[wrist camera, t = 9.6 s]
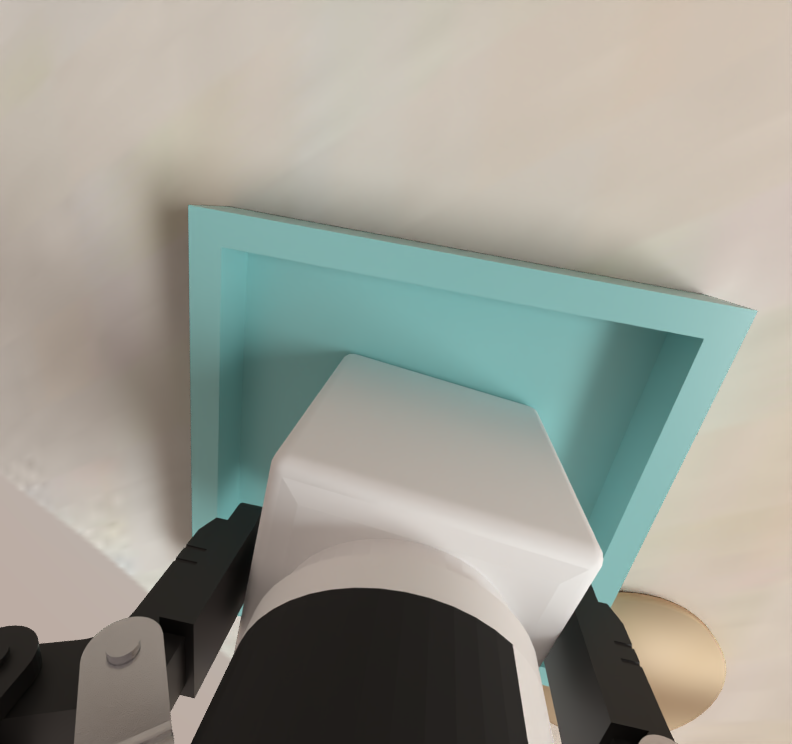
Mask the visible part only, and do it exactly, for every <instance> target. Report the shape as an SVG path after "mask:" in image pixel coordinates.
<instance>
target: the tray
mask: <svg viewBox="0 0 792 744" xmlns="http://www.w3.org/2000/svg"><path fill="white" fill-rule="evenodd" d="M188 231H189V314H190V396H191V479H192V537H193V536H194V535H195V533H196V532H197V531H198V529H200V528H201V527H203V526H204V525H206V524H207V523H209V522H210V521H212V520H213V519H215V518H216V517H217V518H221V519H226V520H228V519H229V517H230V516H231V515H232V513H233V512H234V510H235V509H236V508H237V506H238V505H239V504H240V503H242V502H243V503H247V504H252V505H257V506H261V507H263V502H264V497H265V492H266V487H267V482H268V476H269V471H270V466H271V461H272V459H273V457H274V456H275V454H276V452H277V451H278V450H279V448H280V447H281V445H282V444H283V443H284V441H285V440H286V438H287V437H288V435H289V434H290V433H291V431H292V430H293V428H294V427H295V426H296V424H297V423H298V421H299V420H300V419H301V417H302V416H303V414H304V413H305V412H306V410H307V409H308V407H309V406H310V404H311V403H312V402H313V400H314V399H315V397H316V396H317V395H318V393H319V392H320V390H321V389H322V388H323V386H324V385H325V383H326V382H327V381H328V379H329V378H330V376H331V375H332V374H333V372H334V371H335V369H336V368H337V366H338V365H339V364H340V362H341V361H342V359H343V358H344V357H345V356H347V355H348V354H357V355H361V356H364V357H367V358H370V359H374V360H377V361H380V362H384V363H387V364H390V365H394V366H397V367H400V368H404V369H407V370H410V371H414V372H417V373H420V374H424V375H427V376H430V377H434V378H437V379H440V380H444V381H447V382H450V383H454V384H457V385H460V386H464V387H467V388H470V389H474V390H477V391H480V392H484V393H487V394H490V395H493V396H497V397H500V398H503V399H507V400H510V401H513V402H517V403H520V404H523V405H527V406H530V407H532V408H533V409H535V410H536V411H537V413H538V415H539V417H540V419H541V421H542V423H543V426H544V428H545V430H546V432H547V434H548V436H549V439H550V441H551V443H552V445H553V447H554V449H555V451H556V454H557V456H558V458H559V460H560V462H561V464H562V466H563V469H564V471H565V473H566V475H567V477H568V479H569V482H570V484H571V486H572V488H573V490H574V492H575V494H576V497H577V499H578V501H579V503H580V505H581V507H582V509H583V512H584V514H585V516H586V518H587V520H588V522H589V525H590V527H591V529H592V531H593V533H594V535H595V537H596V540H597V542H598V544H599V546H600V548H601V550H602V552H603V563H602V567H601V569H600V570H599V572H598V573H597V575H596V577H595V578H594V580H593V581H592V583H591V585H592V587H593V590H594V592H595V595H596V597H597V600H598V602H602V603H606V604H608V605H609V607H610V608H611V606H612V604H613V602H614V600H615V598H616V596H617V594H618V592H619V590H620V588H621V586H622V584H623V582H624V580H625V578H626V576H627V574H628V572H629V570H630V568H631V566H632V564H633V562H634V560H635V558H636V556H637V554H638V552H639V550H640V548H641V546H642V544H643V542H644V540H645V538H646V536H647V534H648V532H649V530H650V528H651V525H652V523H653V521H654V519H655V517H656V515H657V513H658V511H659V509H660V507H661V505H662V503H663V501H664V499H665V497H666V495H667V493H668V491H669V489H670V487H671V485H672V483H673V481H674V479H675V477H676V475H677V473H678V471H679V469H680V467H681V465H682V463H683V461H684V459H685V457H686V455H687V453H688V451H689V449H690V447H691V445H692V443H693V441H694V439H695V437H696V435H697V433H698V431H699V429H700V427H701V425H702V423H703V421H704V418H705V416H706V414H707V412H708V410H709V408H710V406H711V404H712V402H713V400H714V398H715V396H716V394H717V392H718V390H719V388H720V386H721V384H722V382H723V380H724V378H725V376H726V374H727V372H728V370H729V368H730V366H731V364H732V362H733V360H734V358H735V356H736V354H737V352H738V350H739V348H740V346H741V344H742V342H743V340H744V338H745V336H746V334H747V332H748V330H749V328H750V326H751V324H752V322H753V320H754V318H755V316H756V314H757V310H753V309H750V308H747V307H744V306H740V305H737V304H734V303H731V302H727V301H724V300H721V299H718V298H714V297H711V296H708V295H704V294H698V293H693V292H687V291H682V290H677V289H671V288H666V287H661V286H655V285H650V284H644V283H639V282H634V281H628V280H623V279H617V278H612V277H607V276H601V275H596V274H590V273H585V272H580V271H574V270H569V269H563V268H558V267H553V266H547V265H542V264H537V263H531V262H526V261H520V260H515V259H510V258H504V257H499V256H493V255H488V254H483V253H477V252H472V251H466V250H461V249H456V248H450V247H445V246H439V245H434V244H429V243H423V242H418V241H413V240H407V239H402V238H396V237H391V236H386V235H380V234H375V233H369V232H364V231H359V230H353V229H348V228H342V227H337V226H332V225H326V224H321V223H315V222H310V221H305V220H299V219H294V218H289V217H283V216H278V215H272V214H267V213H262V212H256V211H251V210H245V209H240V208H235V207H229V206H205V205H188ZM243 605H244V604H243ZM242 610H243V606H242V608H241V609H240V611H239V613H238V615H237V616H241V615H242ZM539 672H540V677H541V682H542V685H545V686H549V683H548V678H547V674H546V669H545V664H544V661H543V663H542V664H541V666H540V667H539Z"/></svg>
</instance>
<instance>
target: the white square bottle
mask: <svg viewBox="0 0 792 744" xmlns="http://www.w3.org/2000/svg"><path fill="white" fill-rule="evenodd" d="M602 563H603V552H602V550H601V548H600V546H599V544H598V542H597V540H596V537H595V535H594V533H593V531H592V529H591V527H590V525H589V522H588V520H587V518H586V516H585V514H584V512H583V509H582V507H581V505H580V503H579V501H578V499H577V497H576V494H575V492H574V490H573V488H572V486H571V484H570V482H569V479H568V477H567V475H566V473H565V471H564V469H563V466H562V464H561V462H560V460H559V458H558V456H557V454H556V451H555V449H554V447H553V445H552V443H551V441H550V439H549V436H548V434H547V432H546V430H545V428H544V426H543V423H542V421H541V419H540V417H539V415H538V413H537V411H536V410H535V409H533V408H532V407H530V406H527V405H523V404H520V403H517V402H513V401H510V400H507V399H503V398H500V397H497V396H493V395H490V394H487V393H484V392H480V391H477V390H474V389H470V388H467V387H464V386H460V385H457V384H454V383H450V382H447V381H444V380H440V379H437V378H434V377H430V376H427V375H424V374H420V373H417V372H414V371H410V370H407V369H404V368H400V367H397V366H394V365H390V364H387V363H384V362H380V361H377V360H374V359H370V358H367V357H364V356H361V355H357V354H348V355H347V356H345V357H344V358H343V359H342V361H341V362H340V364H339V365H338V366H337V368H336V369H335V371H334V372H333V374H332V375H331V376H330V378H329V379H328V381H327V382H326V383H325V385H324V386H323V388H322V389H321V390H320V392H319V393H318V395H317V396H316V397H315V399H314V400H313V402H312V403H311V404H310V406H309V407H308V409H307V410H306V412H305V413H304V414H303V416H302V417H301V419H300V420H299V421H298V423H297V424H296V426H295V427H294V428H293V430H292V431H291V433H290V434H289V435H288V437H287V438H286V440H285V441H284V443H283V444H282V445H281V447H280V448H279V450H278V451H277V452H276V454H275V456H274V457H273V459H272V461H271V466H270V471H269V476H268V482H267V487H266V492H265V497H264V502H263V507H262V512H261V518H260V523H259V528H258V533H257V538H256V543H255V548H254V554H253V559H252V564H251V569H250V574H249V579H248V585H247V590H246V595H245V600H244V605H243V610H242V615H241V621H240V626H239V631H238V636H237V641H236V646H235V651H234V655H233V657H232V659H231V661H230V663H229V666H228V668H227V670H226V672H225V674H224V676H223V678H222V680H221V682H220V685H219V686H218V689H217V691H216V693H215V695H214V697H213V699H212V701H211V703H210V705H209V707H208V709H207V711H206V713H205V715H204V718H203V720H202V722H201V724H200V726H199V728H198V730H197V732H196V734H195V736H194V738H193V740H192V743H191V744H554V740H553V735H552V730H551V725H550V720H549V716H548V711H547V706H546V701H545V696H544V691H543V686H542V682H541V677H540V672H539V667H540V666H541V664H542V663H543V661H544V659H545V658H546V656H547V654H548V653H549V651H550V650H551V648H552V646H553V645H554V643H555V641H556V640H557V638H558V637H559V635H560V633H561V632H562V630H563V628H564V627H565V625H566V624H567V622H568V620H569V619H570V617H571V616H572V614H573V612H574V611H575V609H576V607H577V606H578V604H579V603H580V601H581V599H582V598H583V596H584V594H585V593H586V591H587V590H588V588H589V586H590V585H591V583H592V581H593V580H594V578H595V577H596V575H597V573H598V572H599V570H600V569H601V567H602Z"/></svg>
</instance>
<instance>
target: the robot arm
mask: <svg viewBox="0 0 792 744" xmlns="http://www.w3.org/2000/svg"><path fill="white" fill-rule="evenodd" d="M261 512H262V507H261V506H257V505H252V504H247V503H243V502H242V503H240V504H239V505H238V506H237V508H236V509H235V510H234V512H233V513H232V515H231V516H230V517H229V519H228V520H226V519H221V518H217V517H216V518H215V519H213V520H212V521H210V522H209V523H207V524H206V525H204V526H203V527H201V528H200V529H198V531H197V532H196V533H195V535H194V536H193V537H192V538H191V540H190V541H189V542H188V544H187V545H186V548H184V549H183V550H182V551H181V552H180V554H179V555H178V556H177V558H176V560H175V561H173V563H172V564H171V565H170V566H169V568H168V569H167V570H166V572H165V573H164V574H163V575H162V577H161V578H160V579H159V581H158V582H157V583H156V584H155V586H154V587H153V588H152V589H151V591H150V592H149V593H148V595H147V596H146V597H145V598H144V600H143V601H142V602H141V603H140V605H139V606H138V607H137V609H136V610H135V611H134V612H133V613H132V615H131V616H130V617H128V618H125V619H122V620H119V621H116V622H114V623H112V624H110V625H109V626H107V627H106V628H104V629H103V630H101V631H100V632H99V633H98V634H96V635H95V636H94V637H92V638H89V639H83V640H74V641H64V642H54V643H43V644H39V642H38V637H37V635H36V633H35V632H34V631H33V630H31V629H30V628H27V627H24V626H6V627H1V628H0V744H174V737H173V732H172V724H171V715H170V714H171V713H170V712H171V710H172V708H173V706H174V704H175V702H176V701H177V699H178V697H179V695H183V696H187V697H191V698H195V696H196V694H197V692H198V690H199V689H200V687H201V685H202V683H203V681H204V679H205V677H206V675H207V673H208V671H209V669H210V667H211V665H212V663H213V662H214V660H215V658H216V656H217V654H218V652H219V650H220V648H221V646H222V644H223V642H224V640H225V638H226V636H227V635H228V633H229V631H230V629H231V627H232V625H233V623H234V621H235V619H236V617H237V615H238V613H239V611H240V609H241V608H242V606H243V604H244V600H245V595H246V590H247V585H248V579H249V574H250V569H251V564H252V559H253V554H254V548H255V543H256V538H257V533H258V528H259V523H260V518H261ZM544 664H545V669H546V674H547V678H548V683H549V687H550V692H551V696H552V701H553V705H554V710H555V714H556V719H557V723H558V728H559V732H560V737H561V742H562V744H678V743H676V742H675V741H674V739H673V737H672V735H671V733H670V730H669V728H668V726H667V723H666V721H665V719H664V716H663V714H662V712H661V710H660V707H659V705H658V703H657V700H656V698H655V696H654V693H653V691H652V689H651V687H650V684H649V682H648V680H647V677H646V675H645V673H644V670H643V668H642V667H640V661H639V659H638V657H637V654H636V652H635V650H634V649H632V643H631V641H630V638H629V636H628V634H627V631H626V629H625V627H624V624H623V623H622V622H621V620H620V619H619V618H618V617H617V615H616V614H615V613H614V612H613V610H612V609H611V608H610V607H609V605H608V604H606V603H602V602H598V600H597V597H596V595H595V592H594V590H593V587H592V585H590V586H589V588H588V590H587V591H586V593H585V594H584V596H583V598H582V599H581V601H580V603H579V604H578V606H577V607H576V609H575V611H574V612H573V614H572V616H571V617H570V619H569V620H568V622H567V624H566V625H565V627H564V628H563V630H562V632H561V633H560V635H559V637H558V638H557V640H556V641H555V643H554V645H553V646H552V648H551V650H550V651H549V653H548V654H547V656H546V658H545V659H544Z"/></svg>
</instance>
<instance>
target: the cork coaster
mask: <svg viewBox="0 0 792 744" xmlns="http://www.w3.org/2000/svg"><path fill="white" fill-rule="evenodd" d="M611 609H612V610H613V612H614V613H615V614H616V615H617V617H618V618H619V619H620V620H621V622H622V623H623V624H624V627H625V629H626V631H627V634H628V636H629V638H630V641H631V643H632V649H634V650H635V652H636V654H637V657H638V659H639V661H640V667H642V668H643V670H644V673H645V675H646V677H647V680H648V682H649V684H650V687H651V689H652V691H653V693H654V696H655V698H656V700H657V703H658V705H659V707H660V710H661V712H662V714H663V716H664V719H665V721H666V723H667V726H668V728H669V730H670V731H671V730H674V729H676V728H678V727H681V726H683V725H685V724H687V723H689V722H690V721H692V720H694V719H695V718H697V717H698V716H699V715H701V714H702V713H703V712H704V711H706V710H707V709H708V708H709V707H710V706H711V705H712V703H713V702H714V701H715V700H716V699H717V697H718V695H719V693H720V692H721V690H722V687H723V684H724V682H725V676H726V662H725V658H724V655H723V652H722V650H721V648H720V646H719V644H718V642H717V641H716V639H715V638H714V636H713V635H712V633H711V632H710V630H709V629H708V628H707V626H706V625H705V624H704V623H703V622H702V621H701V620H700V619H699V618H698V617H696V616H695V615H694V614H692V613H691V612H689V611H688V610H686V609H685V608H683V607H681V606H679V605H677V604H675V603H672V602H670V601H667V600H665V599H661V598H658V597H654V596H650V595H645V594H639V593H628V592H618V594H617V596H616V598H615V600H614V602H613V604H612V606H611ZM542 686H543V691H544V696H545V701H546V706H547V711H548V716H549V720H550V723H552V724H554V725H556V726H558V723H557V719H556V714H555V710H554V705H553V701H552V696H551V692H550V687H549V686H545V685H542Z"/></svg>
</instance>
